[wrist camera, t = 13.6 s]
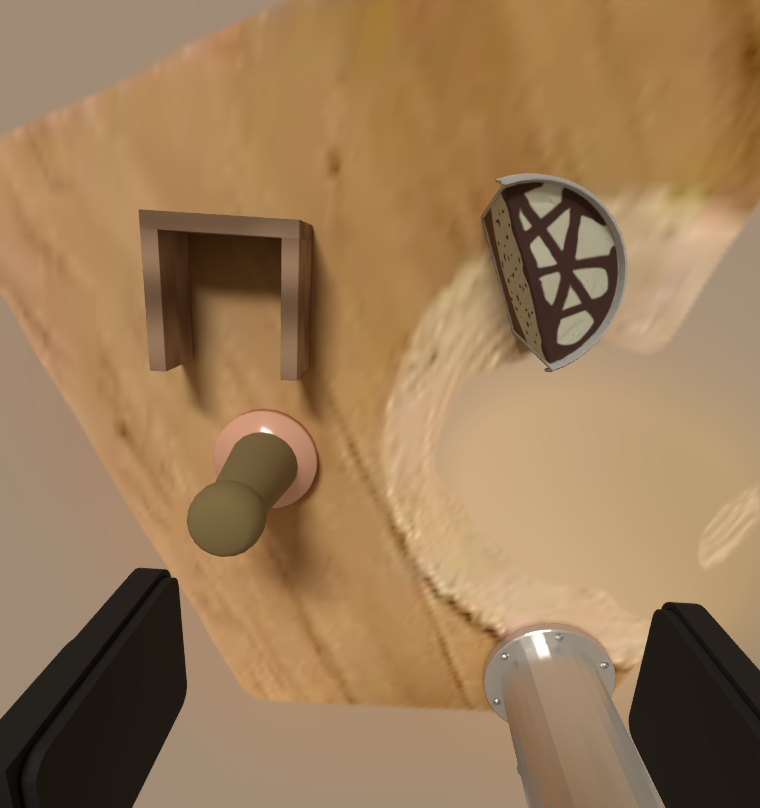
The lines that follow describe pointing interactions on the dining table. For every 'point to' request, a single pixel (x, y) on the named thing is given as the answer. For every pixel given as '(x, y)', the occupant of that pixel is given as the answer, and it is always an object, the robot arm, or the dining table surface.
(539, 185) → the food container
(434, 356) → the dining table surface
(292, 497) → the terracotta coaster
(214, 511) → the olive peg doll
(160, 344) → the walnut shelf bay
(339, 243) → the dining table surface
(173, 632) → the robot arm
